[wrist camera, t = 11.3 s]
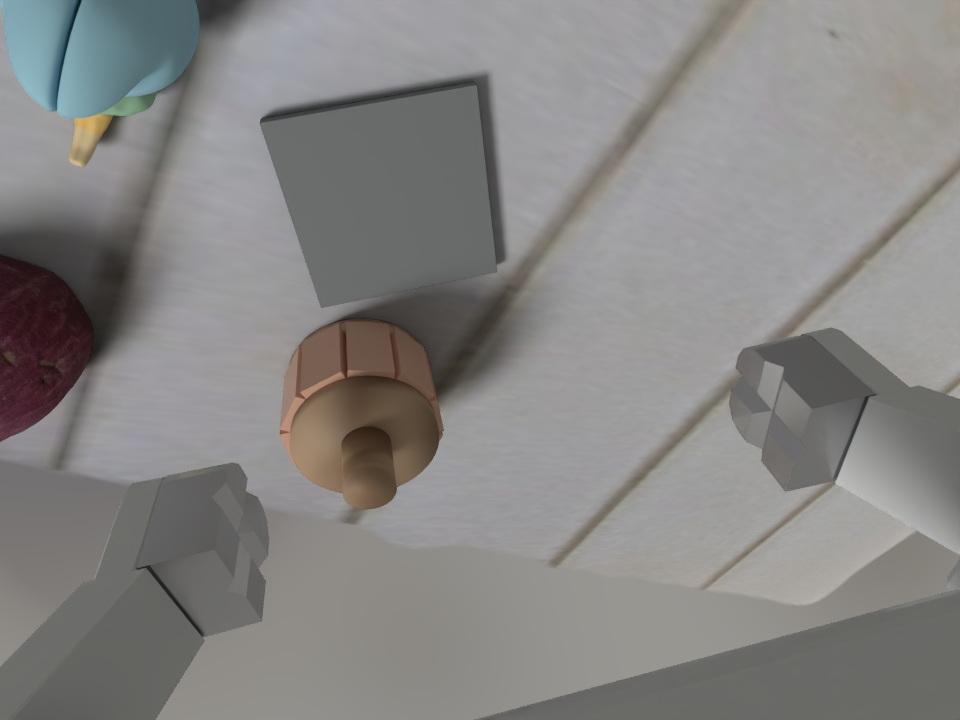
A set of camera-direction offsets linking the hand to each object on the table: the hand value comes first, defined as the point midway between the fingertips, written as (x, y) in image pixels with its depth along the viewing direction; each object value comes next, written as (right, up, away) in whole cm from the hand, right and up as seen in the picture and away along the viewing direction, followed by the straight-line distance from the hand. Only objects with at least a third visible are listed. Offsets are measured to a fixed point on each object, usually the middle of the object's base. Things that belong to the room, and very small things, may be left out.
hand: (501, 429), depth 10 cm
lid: (-8, -4, +30) cm, 32 cm away
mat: (-6, +11, +27) cm, 30 cm away
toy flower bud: (-19, +17, +20) cm, 32 cm away
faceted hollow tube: (-9, 0, +35) cm, 36 cm away
